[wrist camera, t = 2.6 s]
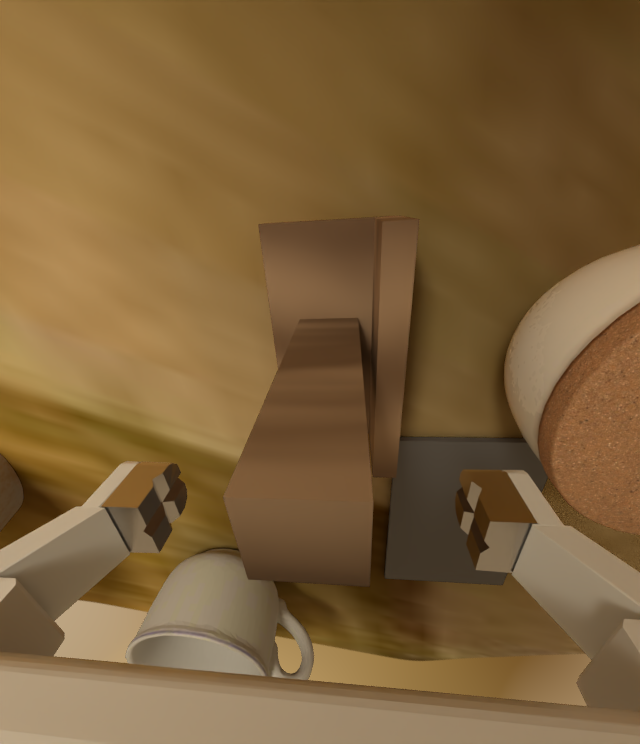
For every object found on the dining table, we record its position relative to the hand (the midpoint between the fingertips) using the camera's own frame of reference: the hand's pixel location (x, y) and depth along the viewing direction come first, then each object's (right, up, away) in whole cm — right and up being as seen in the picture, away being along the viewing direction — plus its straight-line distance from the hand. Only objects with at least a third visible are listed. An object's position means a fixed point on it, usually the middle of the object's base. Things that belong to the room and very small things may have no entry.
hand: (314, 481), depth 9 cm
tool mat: (+11, -8, +15) cm, 20 cm away
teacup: (-7, -16, +21) cm, 27 cm away
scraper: (+1, +5, +8) cm, 10 cm away
